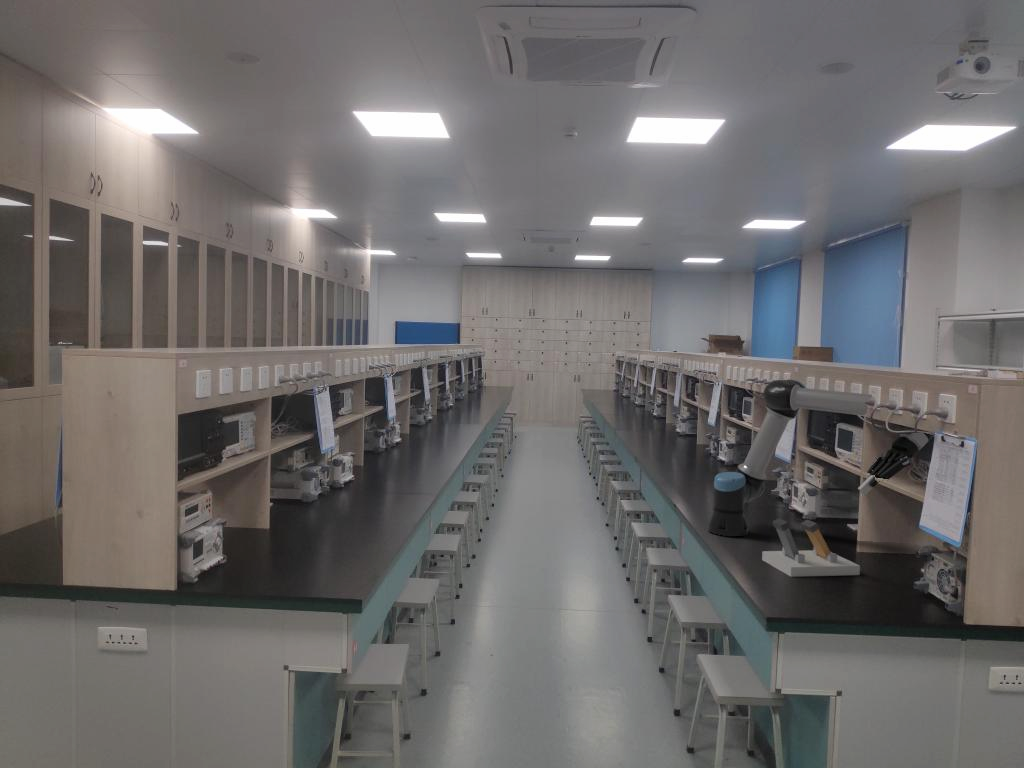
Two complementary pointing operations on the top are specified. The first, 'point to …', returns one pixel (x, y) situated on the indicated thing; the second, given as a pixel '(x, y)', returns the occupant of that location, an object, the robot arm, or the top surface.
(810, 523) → the orange lever
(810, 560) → the control panel
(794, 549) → the grey lever
